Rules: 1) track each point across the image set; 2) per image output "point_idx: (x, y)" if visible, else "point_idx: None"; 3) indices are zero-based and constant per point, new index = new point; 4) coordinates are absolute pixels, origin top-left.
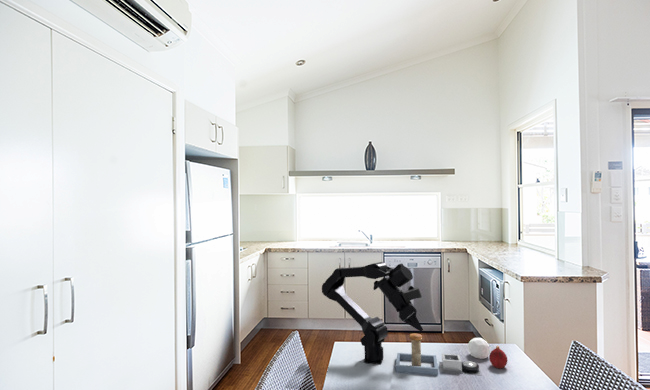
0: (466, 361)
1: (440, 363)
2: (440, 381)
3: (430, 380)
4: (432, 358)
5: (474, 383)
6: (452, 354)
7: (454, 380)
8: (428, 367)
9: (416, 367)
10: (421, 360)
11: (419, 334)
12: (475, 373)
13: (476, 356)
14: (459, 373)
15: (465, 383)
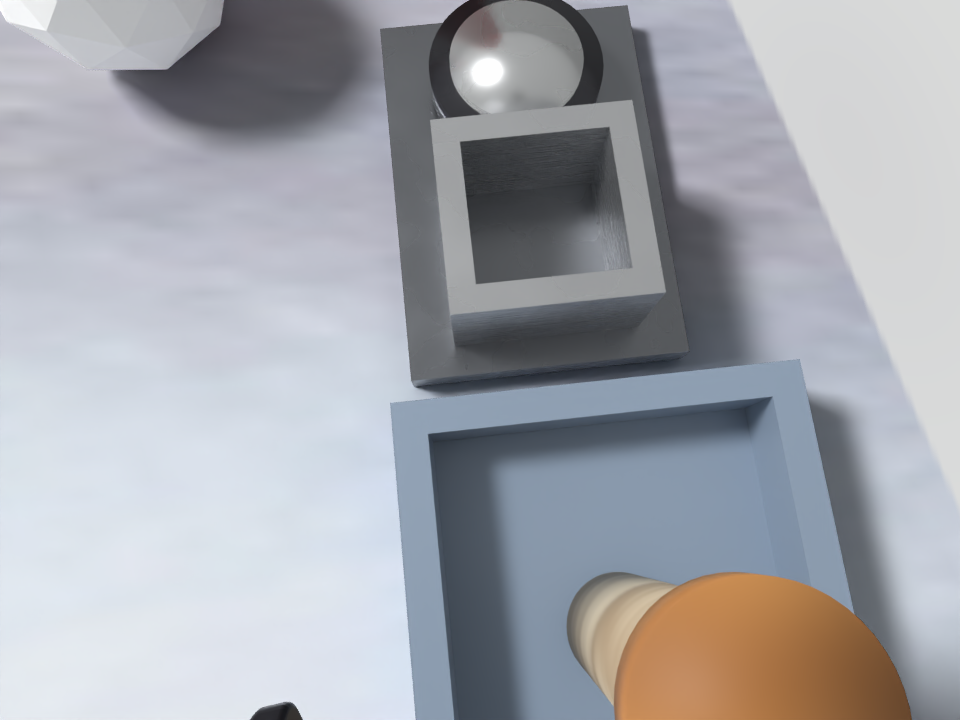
0: (463, 86)
1: (458, 364)
2: (823, 356)
3: (841, 450)
4: (431, 448)
5: (745, 80)
6: (441, 193)
7: (750, 235)
8: (801, 466)
9: (851, 610)
10: (446, 583)
11: (670, 642)
12: (604, 49)
13: (221, 12)
14: (655, 179)
15: (775, 148)
